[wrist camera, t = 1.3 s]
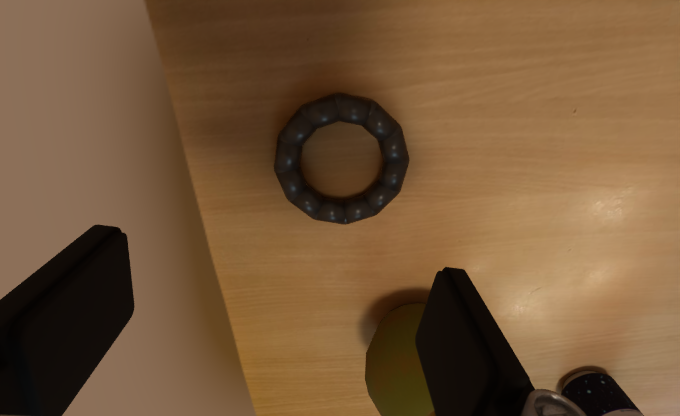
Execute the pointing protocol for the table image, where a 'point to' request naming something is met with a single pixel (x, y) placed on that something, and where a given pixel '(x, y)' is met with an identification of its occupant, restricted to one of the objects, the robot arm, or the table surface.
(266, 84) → the table surface
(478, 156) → the table surface
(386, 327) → the apple
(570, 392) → the beverage can
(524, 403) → the robot arm
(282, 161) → the beaded bracelet
